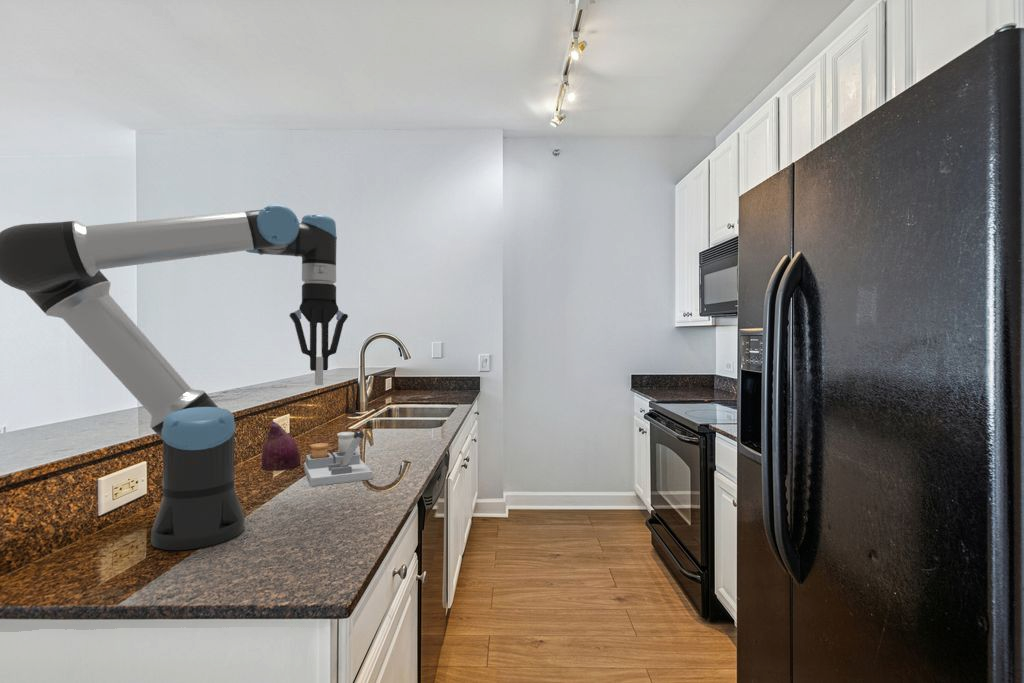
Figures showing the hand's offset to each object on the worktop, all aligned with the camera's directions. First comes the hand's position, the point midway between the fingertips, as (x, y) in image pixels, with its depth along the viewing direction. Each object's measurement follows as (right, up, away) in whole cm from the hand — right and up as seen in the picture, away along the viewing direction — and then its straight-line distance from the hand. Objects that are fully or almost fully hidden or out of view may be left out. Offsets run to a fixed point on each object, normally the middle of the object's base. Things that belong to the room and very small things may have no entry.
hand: (318, 384), depth 121 cm
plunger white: (-2, -21, +25) cm, 33 cm away
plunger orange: (-8, -23, +22) cm, 33 cm away
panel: (-3, -26, +20) cm, 33 cm away
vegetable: (-22, -26, +29) cm, 44 cm away
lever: (0, -24, +16) cm, 29 cm away
